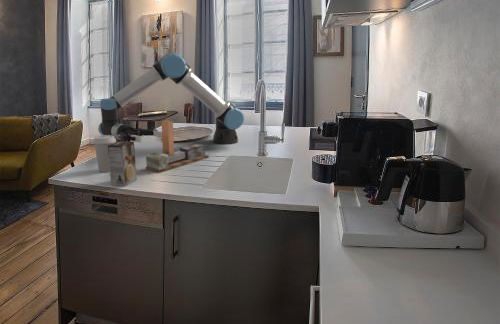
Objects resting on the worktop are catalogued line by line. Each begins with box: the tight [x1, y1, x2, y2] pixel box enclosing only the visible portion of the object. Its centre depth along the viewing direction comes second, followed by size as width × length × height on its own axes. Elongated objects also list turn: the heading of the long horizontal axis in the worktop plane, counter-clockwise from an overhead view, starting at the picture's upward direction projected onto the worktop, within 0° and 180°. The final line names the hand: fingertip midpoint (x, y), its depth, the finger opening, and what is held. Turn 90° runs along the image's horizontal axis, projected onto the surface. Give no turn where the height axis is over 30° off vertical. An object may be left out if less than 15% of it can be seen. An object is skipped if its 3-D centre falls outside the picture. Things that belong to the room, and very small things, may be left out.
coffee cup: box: [92, 134, 117, 173], centre depth 164 cm, size 10×10×15 cm
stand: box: [145, 143, 210, 174], centre depth 178 cm, size 33×9×7 cm, turn 146°
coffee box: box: [108, 140, 138, 187], centre depth 148 cm, size 9×6×16 cm
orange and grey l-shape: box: [161, 119, 187, 163], centre depth 173 cm, size 20×4×19 cm, turn 146°
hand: (152, 137), depth 175 cm, fingers open, 13 cm apart
